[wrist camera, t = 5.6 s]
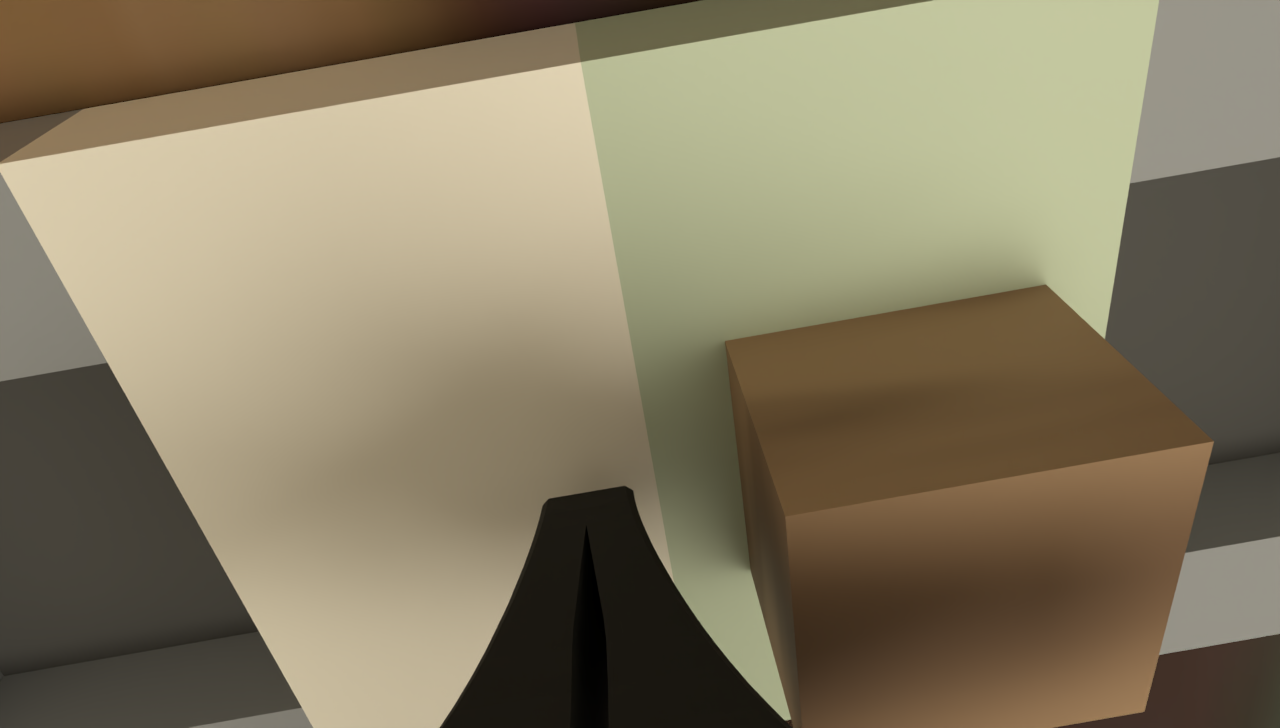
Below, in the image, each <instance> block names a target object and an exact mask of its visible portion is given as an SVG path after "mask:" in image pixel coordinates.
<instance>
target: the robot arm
mask: <svg viewBox="0 0 1280 728" xmlns="http://www.w3.org/2000/svg"><path fill="white" fill-rule="evenodd" d="M440 728H792V727H791V726H790V725H789V724H788V723H787V722H786V721H785V720H784V719H783V718H782V717H781V716H780V715H779V714H778V713H777V712H776V711H775V710H774V709H773V708H772V707H771V706H770V705H769V704H768V703H767V702H766V701H765V700H764V699H763V698H762V697H761V696H760V695H759V694H758V692H757V691H756V690H755V689H754V688H753V687H752V686H751V685H750V684H749V683H748V682H747V681H746V679H745V678H744V677H743V676H742V675H741V674H740V672H739V671H738V670H737V669H736V668H735V667H734V665H733V664H732V663H731V662H730V661H729V660H728V658H727V657H726V656H725V655H724V653H723V652H722V651H721V650H720V648H719V647H718V646H717V645H716V643H715V642H714V641H713V639H712V638H711V637H710V635H709V634H708V633H707V631H706V630H705V629H704V627H703V626H702V625H701V623H700V622H699V620H698V619H697V618H696V616H695V615H694V613H693V612H692V610H691V609H690V607H689V606H688V604H687V603H686V601H685V600H684V598H683V597H682V595H681V594H680V592H679V590H678V589H677V587H676V586H675V584H674V582H673V581H672V579H671V577H670V575H669V574H668V572H667V570H666V569H665V567H664V565H663V563H662V562H661V560H660V558H659V556H658V554H657V552H656V551H655V549H654V547H653V545H652V543H651V541H650V538H649V536H648V534H647V532H646V530H645V527H644V525H643V523H642V520H641V518H640V515H639V512H638V509H637V506H636V502H635V497H634V492H633V490H632V489H630V488H628V487H627V486H620V487H614V488H608V489H602V490H596V491H591V492H585V493H579V494H573V495H567V496H561V497H555V498H549V499H548V500H547V501H546V502H545V503H544V504H543V506H542V510H541V514H540V518H539V522H538V525H537V529H536V532H535V535H534V538H533V541H532V544H531V547H530V550H529V553H528V556H527V558H526V561H525V564H524V567H523V569H522V571H521V574H520V576H519V579H518V581H517V584H516V586H515V589H514V591H513V593H512V596H511V598H510V601H509V603H508V605H507V607H506V610H505V612H504V614H503V616H502V618H501V620H500V622H499V624H498V626H497V628H496V630H495V632H494V634H493V637H492V639H491V641H490V643H489V645H488V647H487V649H486V651H485V653H484V655H483V656H482V658H481V660H480V662H479V664H478V666H477V668H476V669H475V671H474V673H473V675H472V676H471V678H470V680H469V682H468V683H467V685H466V687H465V688H464V690H463V692H462V693H461V695H460V697H459V698H458V700H457V702H456V703H455V705H454V707H453V708H452V710H451V711H450V713H449V714H448V716H447V717H446V719H445V720H444V722H443V723H442V725H441V726H440Z"/></svg>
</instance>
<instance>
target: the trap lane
mask: <svg viewBox="0 0 1280 728" xmlns="http://www.w3.org/2000/svg"><path fill="white" fill-rule="evenodd" d="M1041 285H1047V286H1048V287H1049V288H1050V289H1051V290H1053V291H1054V292H1055V293H1056V294H1057V295H1058V296H1059V297H1060V298H1061V299H1062V300H1063V301H1064V302H1065V303H1066V304H1068V305H1069V306H1070V307H1071V308H1072V309H1073V310H1074V311H1075V312H1076V313H1077V314H1078V315H1079V316H1080V317H1081V318H1083V319H1084V320H1085V321H1086V322H1087V323H1088V324H1089V325H1090V326H1091V327H1092V328H1093V329H1094V330H1095V331H1096V332H1097V333H1099V334H1100V335H1101V336H1102V337H1103V338H1104V339H1105V340H1106V341H1107V342H1108V343H1109V344H1110V345H1111V346H1112V347H1114V348H1115V349H1116V350H1117V351H1118V352H1119V353H1120V354H1121V355H1122V356H1123V357H1124V358H1125V359H1126V360H1127V361H1129V362H1130V363H1131V364H1132V365H1133V366H1134V367H1135V368H1136V369H1137V370H1138V371H1139V372H1140V373H1141V374H1142V375H1143V376H1145V377H1146V378H1147V379H1148V380H1149V381H1150V382H1151V383H1152V384H1153V385H1154V386H1155V387H1156V388H1157V389H1158V390H1160V391H1161V392H1162V393H1163V394H1164V395H1165V396H1166V397H1167V398H1168V399H1169V400H1170V401H1171V402H1172V403H1173V404H1175V405H1176V406H1177V407H1178V408H1179V409H1180V410H1181V411H1182V412H1183V413H1184V414H1185V415H1186V416H1187V417H1188V418H1189V419H1191V420H1192V421H1193V422H1194V423H1195V424H1196V425H1197V426H1198V427H1199V428H1200V429H1201V430H1202V431H1203V432H1204V433H1206V434H1207V435H1208V436H1209V437H1210V438H1211V439H1212V440H1213V441H1214V443H1213V447H1212V451H1211V455H1210V459H1209V463H1208V466H1207V470H1206V474H1205V478H1204V482H1203V486H1202V490H1201V494H1200V498H1199V501H1198V505H1197V509H1196V513H1195V517H1194V521H1193V525H1192V529H1191V532H1190V536H1189V540H1188V544H1187V548H1186V552H1185V556H1184V560H1183V564H1182V567H1181V571H1180V575H1179V579H1178V583H1177V587H1176V591H1175V595H1174V598H1173V602H1172V606H1171V610H1170V614H1169V618H1168V622H1167V626H1166V630H1165V633H1164V637H1163V641H1162V645H1161V649H1160V653H1159V655H1161V654H1167V653H1172V652H1178V651H1184V650H1189V649H1195V648H1201V647H1207V646H1212V645H1218V644H1224V643H1229V642H1235V641H1241V640H1247V639H1252V638H1258V637H1264V636H1269V635H1275V634H1280V0H702V1H696V2H691V3H685V4H679V5H673V6H668V7H662V8H656V9H651V10H645V11H639V12H634V13H628V14H622V15H616V16H611V17H605V18H599V19H594V20H588V21H582V22H576V23H571V24H565V25H559V26H554V27H548V28H542V29H537V30H531V31H525V32H519V33H514V34H508V35H502V36H497V37H491V38H485V39H480V40H474V41H468V42H462V43H457V44H451V45H445V46H440V47H434V48H428V49H423V50H417V51H411V52H405V53H400V54H394V55H388V56H383V57H377V58H371V59H366V60H360V61H354V62H348V63H343V64H337V65H331V66H326V67H320V68H314V69H309V70H303V71H297V72H291V73H286V74H280V75H274V76H269V77H263V78H257V79H251V80H246V81H240V82H234V83H229V84H223V85H217V86H212V87H206V88H200V89H194V90H189V91H183V92H177V93H172V94H166V95H160V96H155V97H149V98H143V99H137V100H132V101H126V102H120V103H115V104H109V105H103V106H98V107H92V108H86V109H80V110H75V111H69V112H63V113H58V114H52V115H46V116H41V117H35V118H29V119H23V120H18V121H12V122H6V123H1V124H0V728H440V726H441V725H442V723H443V722H444V720H445V719H446V717H447V716H448V714H449V713H450V711H451V710H452V708H453V707H454V705H455V703H456V702H457V700H458V698H459V697H460V695H461V693H462V692H463V690H464V688H465V687H466V685H467V683H468V682H469V680H470V678H471V676H472V675H473V673H474V671H475V669H476V668H477V666H478V664H479V662H480V660H481V658H482V656H483V655H484V653H485V651H486V649H487V647H488V645H489V643H490V641H491V639H492V637H493V634H494V632H495V630H496V628H497V626H498V624H499V622H500V620H501V618H502V616H503V614H504V612H505V610H506V607H507V605H508V603H509V601H510V598H511V596H512V593H513V591H514V589H515V586H516V584H517V581H518V579H519V576H520V574H521V571H522V569H523V567H524V564H525V561H526V558H527V556H528V553H529V550H530V547H531V544H532V541H533V538H534V535H535V532H536V529H537V525H538V522H539V518H540V514H541V510H542V506H543V504H544V503H545V502H546V501H547V500H548V499H549V498H555V497H561V496H567V495H573V494H579V493H585V492H591V491H596V490H602V489H608V488H614V487H620V486H627V487H628V488H630V489H632V490H633V492H634V497H635V502H636V506H637V509H638V512H639V515H640V518H641V520H642V523H643V525H644V527H645V530H646V532H647V534H648V536H649V538H650V541H651V543H652V545H653V547H654V549H655V551H656V552H657V554H658V556H659V558H660V560H661V562H662V563H663V565H664V567H665V569H666V570H667V572H668V574H669V575H670V577H671V579H672V581H673V582H674V584H675V586H676V587H677V589H678V590H679V592H680V594H681V595H682V597H683V598H684V600H685V601H686V603H687V604H688V606H689V607H690V609H691V610H692V612H693V613H694V615H695V616H696V618H697V619H698V620H699V622H700V623H701V625H702V626H703V627H704V629H705V630H706V631H707V633H708V634H709V635H710V637H711V638H712V639H713V641H714V642H715V643H716V645H717V646H718V647H719V648H720V650H721V651H722V652H723V653H724V655H725V656H726V657H727V658H728V660H729V661H730V662H731V663H732V664H733V665H734V667H735V668H736V669H737V670H738V671H739V672H740V674H741V675H742V676H743V677H744V678H745V679H746V681H747V682H748V683H749V684H750V685H751V686H752V687H753V688H754V689H755V690H756V691H757V692H758V694H759V695H760V696H761V697H762V698H763V699H764V700H765V701H766V702H767V703H768V704H769V705H770V706H771V707H772V708H773V709H774V710H775V711H776V712H777V713H778V714H779V715H780V716H781V717H782V718H783V719H784V720H790V719H791V717H790V713H789V709H788V706H787V702H786V698H785V695H784V691H783V688H782V684H781V680H780V677H779V673H778V669H777V666H776V662H775V658H774V655H773V651H772V647H771V644H770V640H769V636H768V633H767V629H766V625H765V622H764V618H763V614H762V611H761V607H760V603H759V600H758V596H757V592H756V589H755V585H754V581H753V578H752V574H751V569H750V560H749V551H748V542H747V534H746V525H745V516H744V507H743V498H742V489H741V480H740V471H739V462H738V453H737V444H736V435H735V426H734V417H733V409H732V400H731V391H730V382H729V373H728V364H727V355H726V346H725V341H728V340H733V339H739V338H745V337H750V336H756V335H762V334H767V333H773V332H779V331H785V330H790V329H796V328H802V327H807V326H813V325H819V324H824V323H830V322H836V321H841V320H847V319H853V318H859V317H864V316H870V315H876V314H881V313H887V312H893V311H898V310H904V309H910V308H916V307H921V306H927V305H933V304H938V303H944V302H950V301H955V300H961V299H967V298H972V297H978V296H984V295H990V294H995V293H1001V292H1007V291H1012V290H1018V289H1024V288H1029V287H1035V286H1041Z"/></svg>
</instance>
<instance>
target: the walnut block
mask: <svg viewBox="0 0 1280 728" xmlns="http://www.w3.org/2000/svg"><path fill="white" fill-rule="evenodd" d="M725 346H726V355H727V364H728V373H729V382H730V391H731V400H732V409H733V417H734V426H735V435H736V444H737V453H738V462H739V471H740V480H741V489H742V498H743V507H744V516H745V525H746V534H747V542H748V551H749V560H750V569H751V574H752V578H753V581H754V585H755V589H756V592H757V596H758V600H759V603H760V607H761V611H762V614H763V618H764V622H765V625H766V629H767V633H768V636H769V640H770V644H771V647H772V651H773V655H774V658H775V662H776V666H777V669H778V673H779V677H780V680H781V684H782V688H783V691H784V695H785V698H786V702H787V706H788V709H789V713H790V717H791V720H792V724H793V728H1054V727H1060V726H1065V725H1071V724H1077V723H1082V722H1088V721H1094V720H1099V719H1105V718H1111V717H1117V716H1122V715H1128V714H1134V713H1139V712H1144V711H1145V707H1146V703H1147V699H1148V696H1149V692H1150V688H1151V684H1152V680H1153V676H1154V672H1155V668H1156V664H1157V661H1158V657H1159V653H1160V649H1161V645H1162V641H1163V637H1164V633H1165V630H1166V626H1167V622H1168V618H1169V614H1170V610H1171V606H1172V602H1173V598H1174V595H1175V591H1176V587H1177V583H1178V579H1179V575H1180V571H1181V567H1182V564H1183V560H1184V556H1185V552H1186V548H1187V544H1188V540H1189V536H1190V532H1191V529H1192V525H1193V521H1194V517H1195V513H1196V509H1197V505H1198V501H1199V498H1200V494H1201V490H1202V486H1203V482H1204V478H1205V474H1206V470H1207V466H1208V463H1209V459H1210V455H1211V451H1212V447H1213V443H1214V441H1213V440H1212V439H1211V438H1210V437H1209V436H1208V435H1207V434H1206V433H1204V432H1203V431H1202V430H1201V429H1200V428H1199V427H1198V426H1197V425H1196V424H1195V423H1194V422H1193V421H1192V420H1191V419H1189V418H1188V417H1187V416H1186V415H1185V414H1184V413H1183V412H1182V411H1181V410H1180V409H1179V408H1178V407H1177V406H1176V405H1175V404H1173V403H1172V402H1171V401H1170V400H1169V399H1168V398H1167V397H1166V396H1165V395H1164V394H1163V393H1162V392H1161V391H1160V390H1158V389H1157V388H1156V387H1155V386H1154V385H1153V384H1152V383H1151V382H1150V381H1149V380H1148V379H1147V378H1146V377H1145V376H1143V375H1142V374H1141V373H1140V372H1139V371H1138V370H1137V369H1136V368H1135V367H1134V366H1133V365H1132V364H1131V363H1130V362H1129V361H1127V360H1126V359H1125V358H1124V357H1123V356H1122V355H1121V354H1120V353H1119V352H1118V351H1117V350H1116V349H1115V348H1114V347H1112V346H1111V345H1110V344H1109V343H1108V342H1107V341H1106V340H1105V339H1104V338H1103V337H1102V336H1101V335H1100V334H1099V333H1097V332H1096V331H1095V330H1094V329H1093V328H1092V327H1091V326H1090V325H1089V324H1088V323H1087V322H1086V321H1085V320H1084V319H1083V318H1081V317H1080V316H1079V315H1078V314H1077V313H1076V312H1075V311H1074V310H1073V309H1072V308H1071V307H1070V306H1069V305H1068V304H1066V303H1065V302H1064V301H1063V300H1062V299H1061V298H1060V297H1059V296H1058V295H1057V294H1056V293H1055V292H1054V291H1053V290H1051V289H1050V288H1049V287H1048V286H1047V285H1041V286H1035V287H1029V288H1024V289H1018V290H1012V291H1007V292H1001V293H995V294H990V295H984V296H978V297H972V298H967V299H961V300H955V301H950V302H944V303H938V304H933V305H927V306H921V307H916V308H910V309H904V310H898V311H893V312H887V313H881V314H876V315H870V316H864V317H859V318H853V319H847V320H841V321H836V322H830V323H824V324H819V325H813V326H807V327H802V328H796V329H790V330H785V331H779V332H773V333H767V334H762V335H756V336H750V337H745V338H739V339H733V340H728V341H725Z"/></svg>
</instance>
